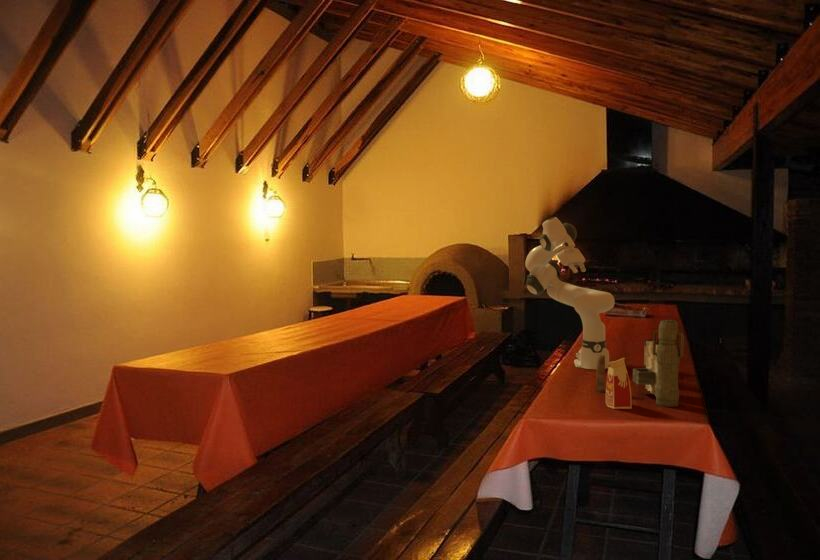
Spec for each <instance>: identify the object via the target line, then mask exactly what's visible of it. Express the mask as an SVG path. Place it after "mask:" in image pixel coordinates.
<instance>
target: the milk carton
mask: <svg viewBox="0 0 820 560" xmlns="http://www.w3.org/2000/svg"><path fill="white" fill-rule="evenodd" d="M625 359H626V358H625V357H622V358H619V359H617V360H615V361H614V360H612V361H609V362H607V363H608V364H609V367H608V368H607V373H606V374H607V375H606V381H605V404H606V406H607V407H608V408H611V409H614V410H620V409H623V410H625V409H627V410H629V409H631V410H632V401H633V399H632V387H631V382H630V376H629V374H628V370H627V366H626V363H625Z"/></svg>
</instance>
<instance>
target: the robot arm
mask: <svg viewBox="0 0 820 560" xmlns="http://www.w3.org/2000/svg"><path fill="white" fill-rule="evenodd" d="M541 225H542V234H541V235H540V236H539V240H538V241H539V244H540V245H538V246H535V247H534V248H532V249H531V250H530V251H529V252H528V254H527V256H526V259H525V263H524V264H525V265H524V266H525V268H526V270H527V271H528V272H529V274H527V275H526V281H525V287H526V289H527V291H528V292H530V293H531V294H533V295H535V296H539V295H541V294H543V293H544V292H545V290H546V293H547V295H548V296H549V297H550V298H551V299H553V300H554V301H557V302H559V303H561V304H564V305H566V306H570V307H573V308H574V310H575V312H576V313H577V314H578V315H579V317H580V319H581V323H582V340H581V347H580V349H579V351H578V352H575V358H577V359H574V360H573V363H574V366H575V367H576V368H579V369H587V370H596V360H597V355H604V356H605V370H606V369H608V368H609V364H608V363H607V362H610V354H609V353H610V351H609V350H608V348H607V340H606V325H605V323H604V322H602V320H601V317H600V314H601V313H602V314H603V313H606V312H608V311H610V310H612V309H613V308H614V306H615V302H616V300H615V297H614V295H613V294H611V292H608V291H602V290H598V289H592V288H588V287H580V286H578V285H575V284H572V283H568V282H565V281H562V280H561V278H562V273H561V272H562V271H561V266H560V265H559V263H558V262H556V261H555V260H553V258H554V257H555V256H556V257H557V259H558V261H559V262H560V263H561V264H562V266H564V267H566V266H567V267H569V269H570V270H571V271H572V272H573V273H574V274H576V273H578V272H579V270H580V272H582V273H584V272H586V271H587V269H586V267H585V264H584V263H585V262H586V258H585V257H584V255H583V253H582V252H581V251H580V250H579V248H576V244H575V241H576V238H577V235H578V233H577V229H576V227H575V226H574V224H571V223H568V222H564V223H562V222H561V220H559V218H558V217H556V216H553V217H550V218H548V219H546V220H544V221H543V223H542V224H541ZM576 265H577V266H579V268H580V269H579V270H578V268H577V267H576Z"/></svg>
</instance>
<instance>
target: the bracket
mask: <svg viewBox="0 0 820 560" xmlns="http://www.w3.org/2000/svg"><path fill="white" fill-rule="evenodd" d="M657 347H658V345H657V344H656V352H657ZM656 352H655V353H656ZM656 359H657V357H656V355H653V342H651V341H646V368H644V367H643V368H641V367H640V368H632V382H634V383H635V384H637V385H638V386H645V390H646V389H647V390H646V391H647V392H649V391H650V393H651V394H652V395H653V396H655V397H656V388H657V372H658V363H657V361H656Z"/></svg>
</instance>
